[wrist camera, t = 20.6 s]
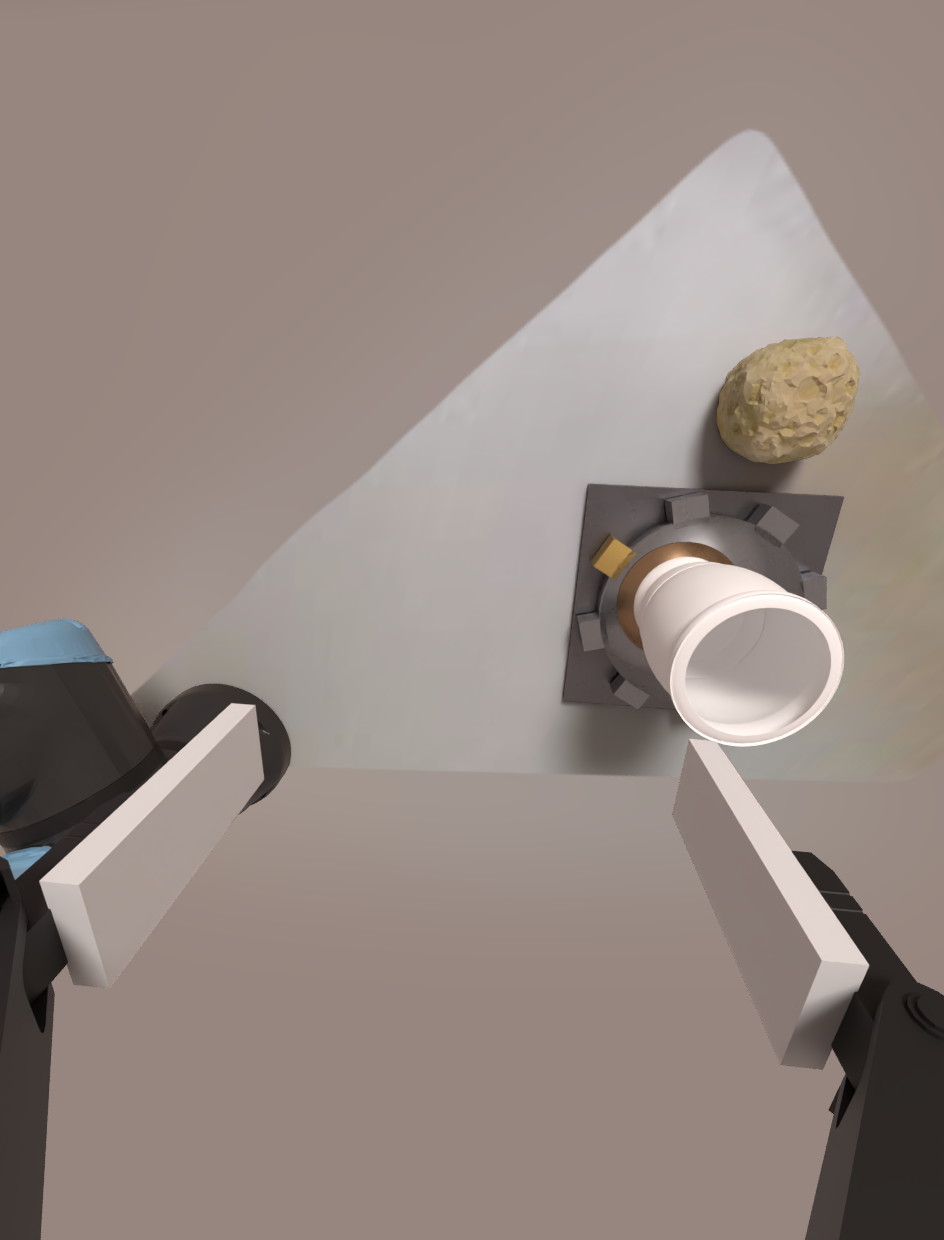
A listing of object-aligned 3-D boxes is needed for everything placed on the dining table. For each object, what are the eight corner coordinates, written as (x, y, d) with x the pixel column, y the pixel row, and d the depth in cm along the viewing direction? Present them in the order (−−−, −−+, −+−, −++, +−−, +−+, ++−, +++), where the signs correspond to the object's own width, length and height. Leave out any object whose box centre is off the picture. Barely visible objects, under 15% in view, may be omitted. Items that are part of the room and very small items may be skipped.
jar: (712, 666, 47) (799, 763, 33) (606, 641, 47) (647, 727, 33) (759, 559, 43) (880, 615, 29) (643, 531, 43) (708, 574, 29)
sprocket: (534, 637, 49) (538, 672, 42) (677, 443, 43) (712, 443, 35) (704, 744, 52) (737, 795, 45) (866, 577, 45) (936, 604, 38)
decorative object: (791, 351, 44) (800, 275, 35) (876, 429, 40) (910, 366, 32) (696, 427, 47) (684, 375, 38) (768, 505, 44) (772, 466, 35)
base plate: (588, 483, 45) (590, 484, 44) (838, 495, 44) (845, 497, 43) (563, 697, 53) (564, 701, 52) (776, 712, 51) (781, 718, 50)
